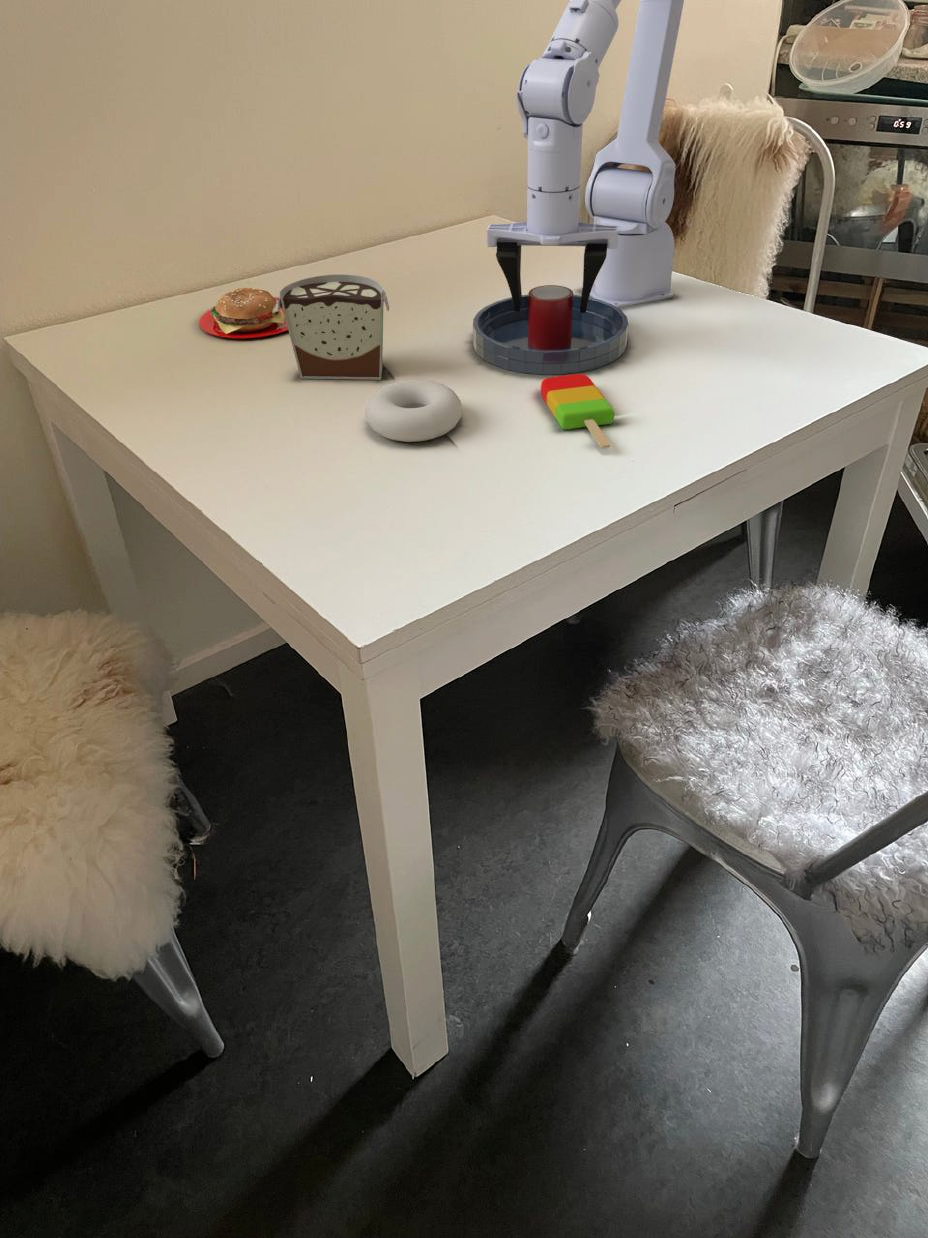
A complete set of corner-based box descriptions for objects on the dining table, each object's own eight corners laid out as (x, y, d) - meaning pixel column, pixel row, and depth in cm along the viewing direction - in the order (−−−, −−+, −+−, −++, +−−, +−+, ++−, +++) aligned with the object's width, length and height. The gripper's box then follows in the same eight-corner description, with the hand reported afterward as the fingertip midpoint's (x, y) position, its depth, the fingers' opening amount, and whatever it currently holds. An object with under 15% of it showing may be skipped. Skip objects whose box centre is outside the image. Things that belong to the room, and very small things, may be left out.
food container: (402, 357, 114) (396, 272, 107) (394, 379, 109) (387, 292, 103) (300, 356, 115) (288, 272, 108) (287, 378, 110) (274, 291, 104)
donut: (416, 396, 106) (346, 426, 100) (414, 366, 103) (343, 395, 98) (482, 423, 100) (412, 457, 94) (482, 392, 98) (410, 425, 92)
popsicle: (586, 387, 106) (586, 370, 105) (632, 451, 94) (634, 434, 93) (537, 393, 105) (537, 376, 104) (578, 459, 93) (579, 441, 92)
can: (558, 331, 118) (560, 281, 114) (579, 346, 114) (581, 295, 110) (520, 338, 116) (520, 289, 112) (539, 354, 112) (541, 303, 109)
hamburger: (323, 326, 122) (317, 279, 118) (215, 349, 117) (205, 300, 113) (289, 292, 132) (282, 248, 128) (188, 312, 127) (178, 266, 123)
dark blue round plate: (579, 306, 124) (580, 283, 123) (655, 358, 111) (658, 333, 109) (450, 332, 119) (449, 308, 117) (514, 389, 106) (514, 363, 104)
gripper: (482, 195, 102) (484, 320, 110) (620, 196, 100) (612, 323, 108) (490, 177, 107) (492, 297, 116) (621, 178, 105) (613, 300, 114)
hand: (550, 308), depth 112 cm, fingers open, 7 cm apart
